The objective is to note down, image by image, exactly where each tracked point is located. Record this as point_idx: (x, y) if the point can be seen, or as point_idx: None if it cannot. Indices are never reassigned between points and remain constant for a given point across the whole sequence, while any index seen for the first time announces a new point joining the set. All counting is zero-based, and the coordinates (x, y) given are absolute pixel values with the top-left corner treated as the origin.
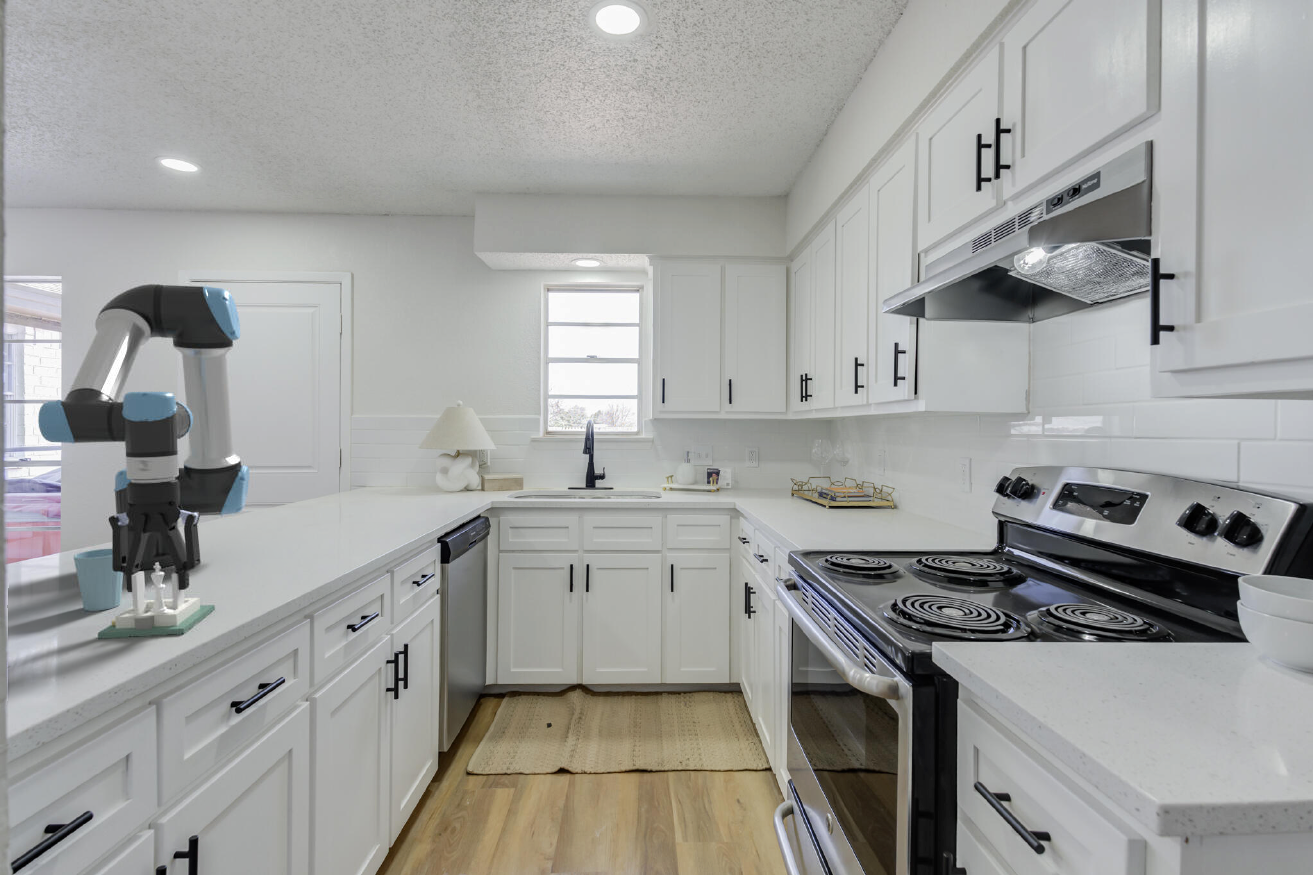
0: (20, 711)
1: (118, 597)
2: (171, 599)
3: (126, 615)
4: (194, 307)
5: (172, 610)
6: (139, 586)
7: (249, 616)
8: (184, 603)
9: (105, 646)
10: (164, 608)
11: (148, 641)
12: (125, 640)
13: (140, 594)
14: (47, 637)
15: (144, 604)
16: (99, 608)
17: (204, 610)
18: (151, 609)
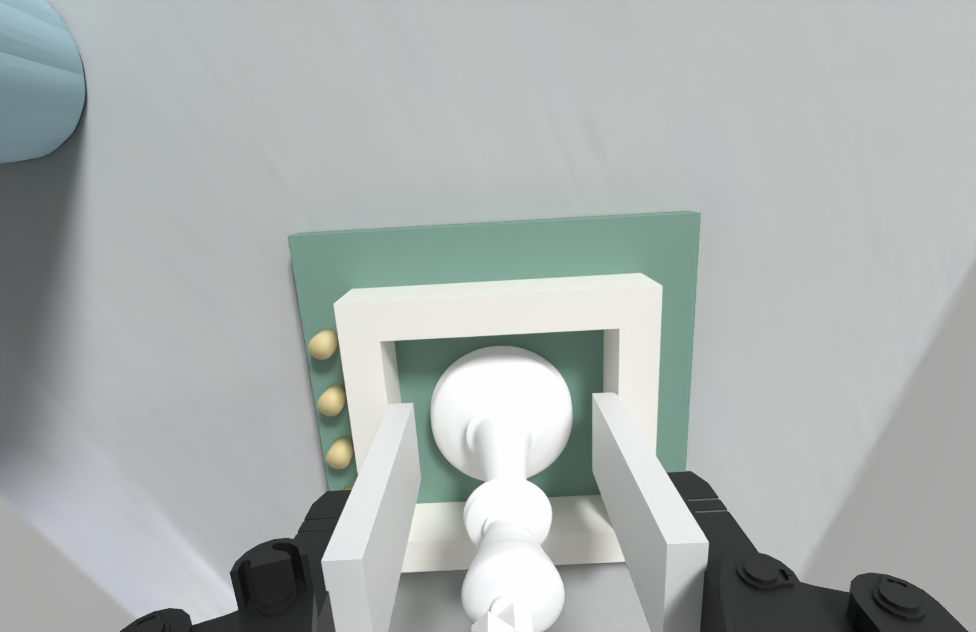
0: None
1: (43, 58)
2: (502, 305)
3: (411, 555)
4: None
5: (553, 395)
6: (394, 551)
7: (893, 339)
8: (619, 397)
9: (432, 628)
10: (533, 442)
11: (565, 597)
12: None
13: (404, 504)
14: (128, 521)
15: (413, 425)
16: (37, 157)
17: (679, 314)
18: (468, 444)
